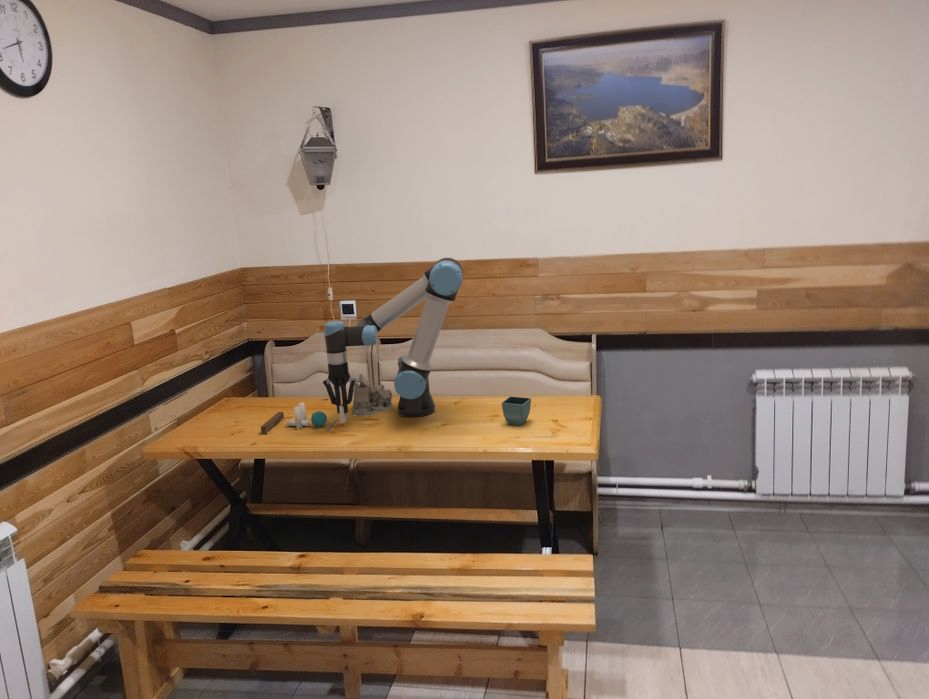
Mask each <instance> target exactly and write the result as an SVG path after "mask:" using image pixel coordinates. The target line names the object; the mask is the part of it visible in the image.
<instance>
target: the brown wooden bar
mask: <svg viewBox="0 0 929 699" xmlns="http://www.w3.org/2000/svg"><path fill="white" fill-rule="evenodd" d="M283 418H284V419H285V414H284V411H278V412H277V413H275V414H274V415H273V416H271V417H270V418H269V419H268V420H267V421H266V422H264V424H262V425H261V426H260V431H261V435H267V434H268V433H267V432H269V431H270V430H271V429H272V428H273V427H274V426H275V427H276V425H277V424H278V423H279V422H280V421H281V420H282V419H283ZM284 419H283V420H284ZM283 420H282V421H283ZM282 421H281V422H282ZM281 422H280V423H281ZM280 423H279V424H280ZM279 424H278V425H279ZM278 425H277V426H278ZM275 427H274V428H275ZM274 428H273V429H274ZM273 429H272V430H273ZM272 430H271V431H272ZM271 431H270V432H271ZM270 432H269V433H270ZM266 433H267V434H266Z"/></svg>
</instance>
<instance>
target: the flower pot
mask: <svg viewBox="0 0 929 699" xmlns="http://www.w3.org/2000/svg"><path fill="white" fill-rule="evenodd" d="M531 405H532V397H522V396H513V395H512V396H509V397H507V398H506V399H505V400H503V401H502V402H501V408H502V414H503V417H504V419H505V421H506V423H508V425H512V424H516V425H515V426H523V424H524V423H526V422H527V420H528V418H529V415H530V412H531Z"/></svg>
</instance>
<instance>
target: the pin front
mask: <svg viewBox="0 0 929 699" xmlns="http://www.w3.org/2000/svg"><path fill="white" fill-rule="evenodd" d="M310 425H311V424H310V420H307V419H306V420H302V426H309V427H310ZM287 426H296V423H295V420H286V427H287Z"/></svg>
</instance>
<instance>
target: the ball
mask: <svg viewBox="0 0 929 699" xmlns="http://www.w3.org/2000/svg"><path fill="white" fill-rule="evenodd" d="M327 420H328V418H327V415H326V413H325V412H323V411H320V410H319V411H315V412H314V413H313V414H311V417H310V422H311V424H312V425H313V426H314V427H318V428H320V427H323V426H324V425H325V424H326V423H327Z"/></svg>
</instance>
